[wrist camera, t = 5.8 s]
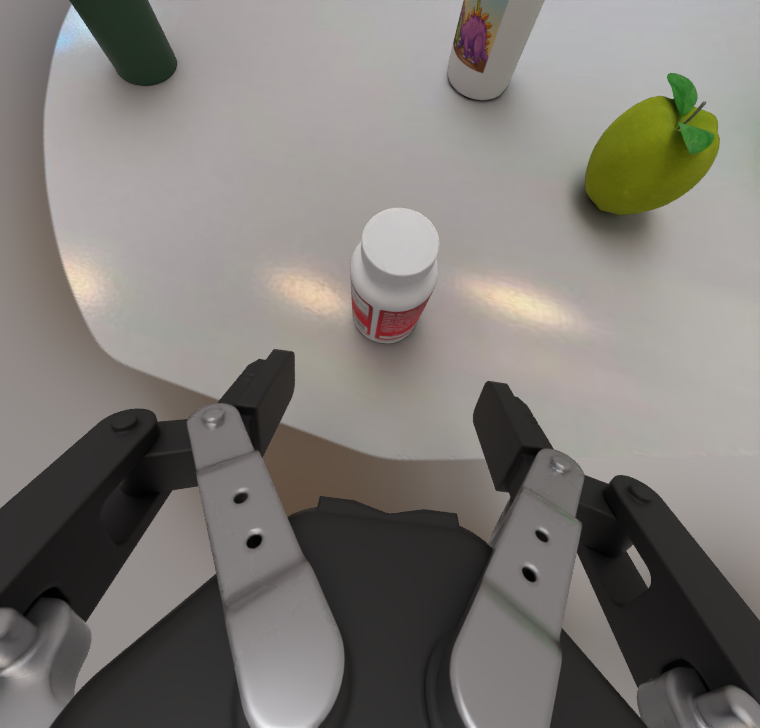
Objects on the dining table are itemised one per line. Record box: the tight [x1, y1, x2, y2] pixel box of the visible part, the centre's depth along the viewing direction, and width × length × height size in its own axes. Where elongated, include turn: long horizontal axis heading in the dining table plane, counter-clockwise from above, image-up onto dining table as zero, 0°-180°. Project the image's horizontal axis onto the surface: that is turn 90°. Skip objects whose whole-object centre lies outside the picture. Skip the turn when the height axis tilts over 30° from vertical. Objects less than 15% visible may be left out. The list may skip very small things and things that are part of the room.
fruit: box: [585, 73, 720, 215], centre depth 28 cm, size 9×9×10 cm
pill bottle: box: [350, 208, 439, 343], centre depth 23 cm, size 6×6×11 cm
